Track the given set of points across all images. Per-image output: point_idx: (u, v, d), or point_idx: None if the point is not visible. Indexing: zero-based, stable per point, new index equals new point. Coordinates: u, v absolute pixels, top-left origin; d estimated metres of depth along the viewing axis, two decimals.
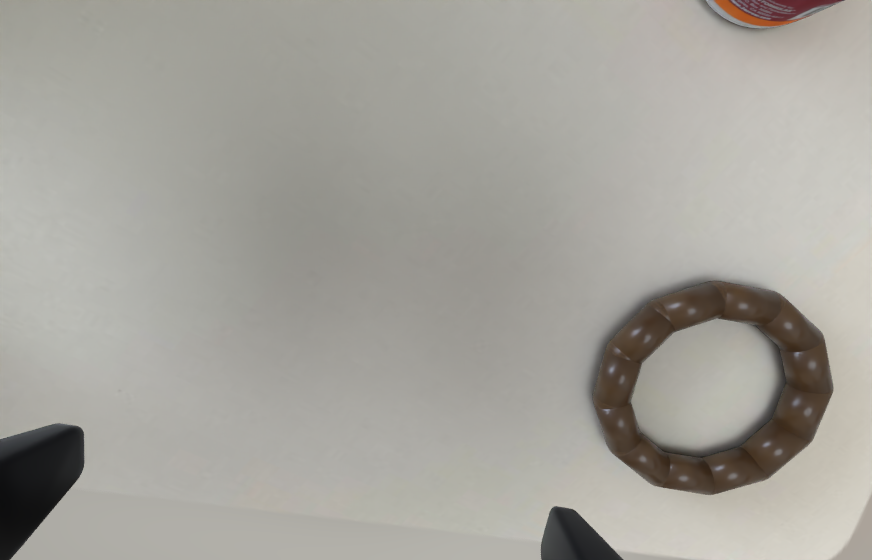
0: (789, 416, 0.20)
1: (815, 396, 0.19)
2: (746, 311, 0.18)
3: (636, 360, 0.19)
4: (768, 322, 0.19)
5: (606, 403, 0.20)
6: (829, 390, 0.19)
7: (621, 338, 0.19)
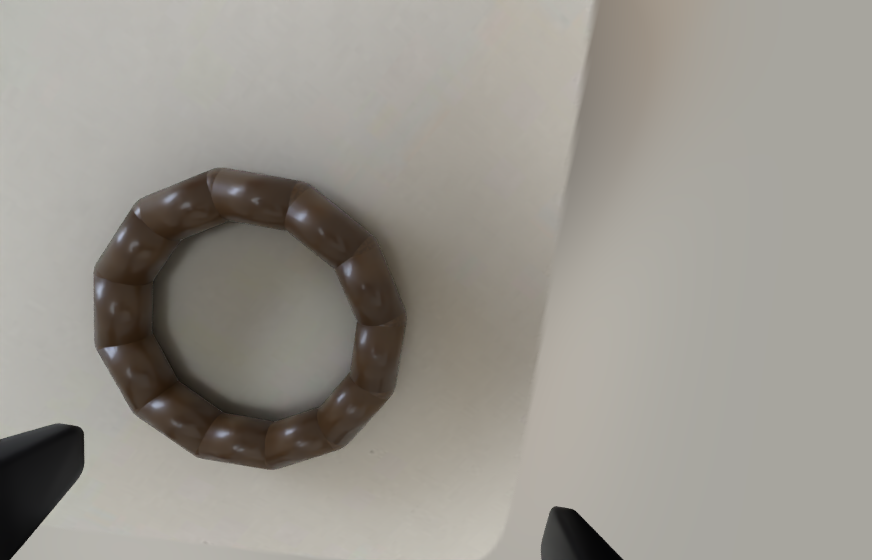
0: (353, 360, 0.14)
1: (369, 330, 0.14)
2: (244, 206, 0.13)
3: (114, 279, 0.14)
4: (283, 223, 0.13)
5: (96, 341, 0.14)
6: (385, 321, 0.14)
7: None
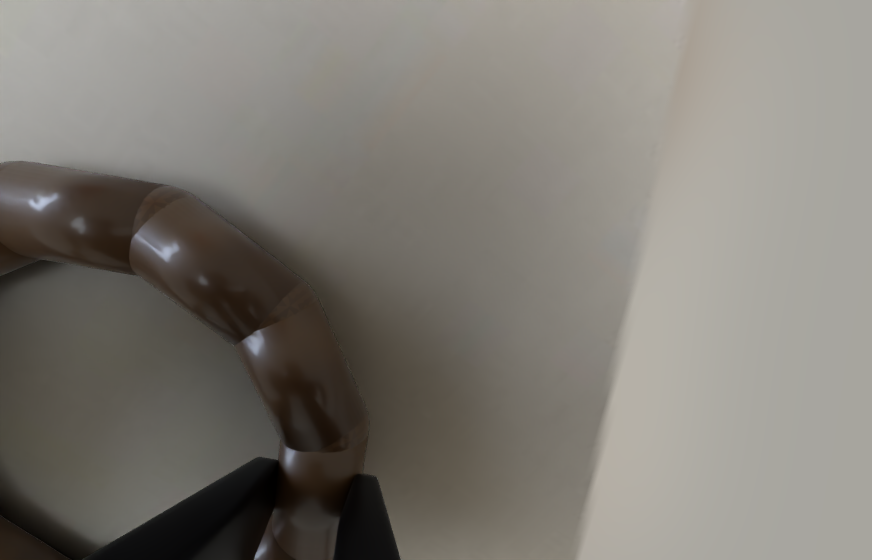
0: (275, 501, 0.08)
1: (298, 457, 0.08)
2: (49, 234, 0.07)
3: None
4: (128, 265, 0.07)
5: None
6: (326, 443, 0.07)
7: None
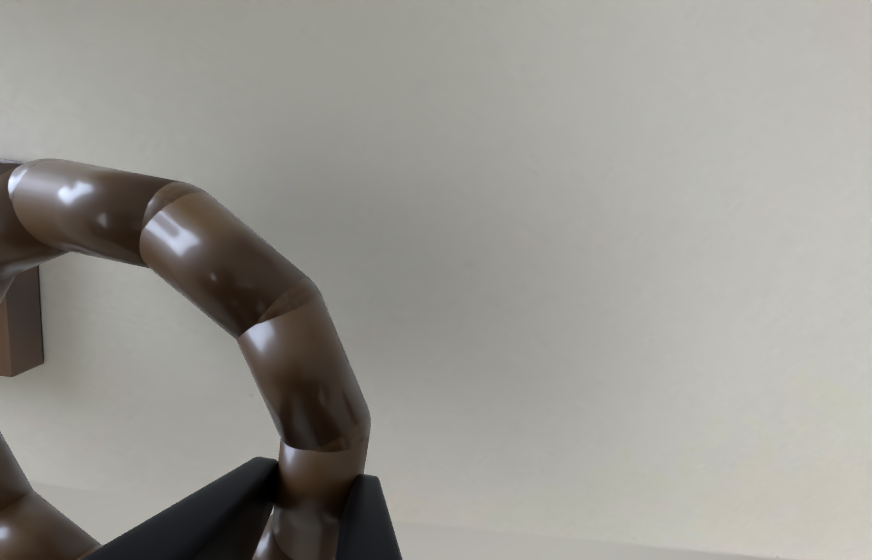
0: None
1: (294, 455, 0.07)
2: (70, 226, 0.07)
3: None
4: (139, 257, 0.07)
5: None
6: (321, 443, 0.07)
7: None
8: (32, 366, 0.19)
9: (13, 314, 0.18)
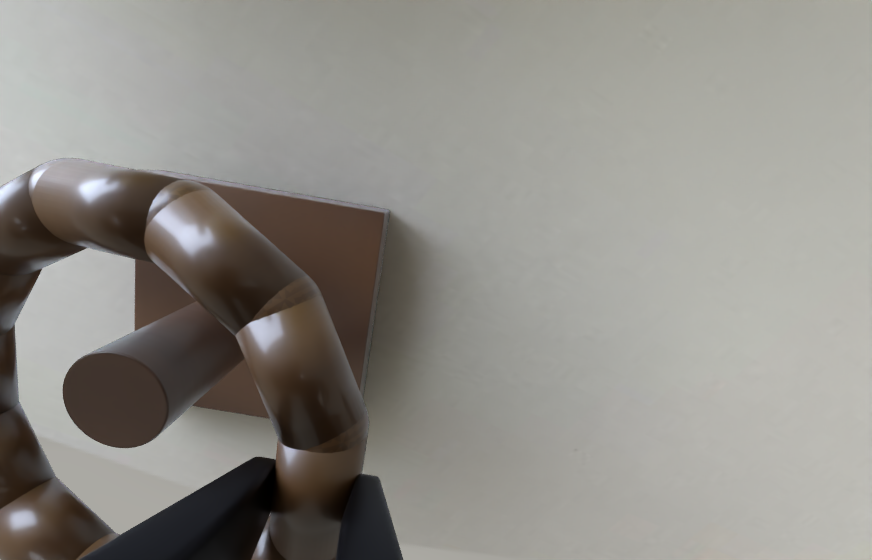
0: (272, 497, 0.08)
1: (289, 454, 0.07)
2: (82, 222, 0.07)
3: None
4: (145, 253, 0.07)
5: None
6: (315, 442, 0.07)
7: None
8: None
9: (363, 367, 0.17)
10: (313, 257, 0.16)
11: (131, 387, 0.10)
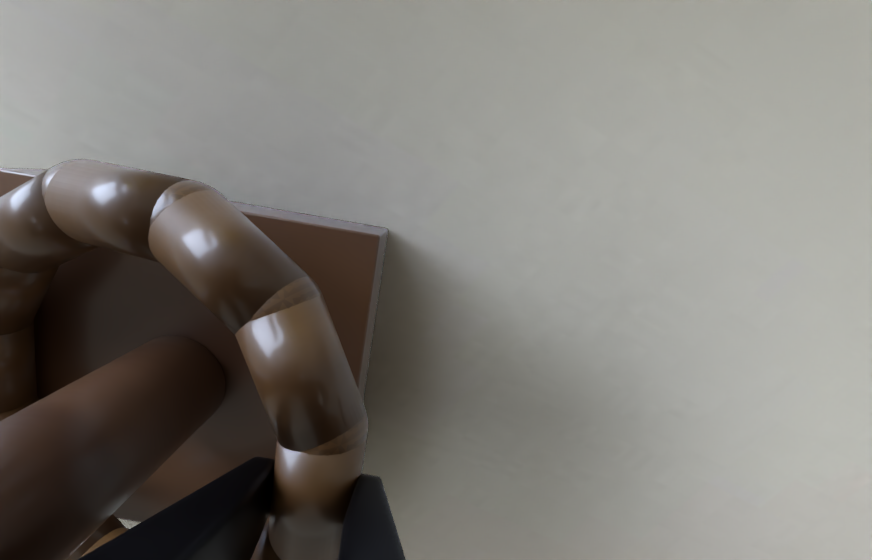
0: (271, 498, 0.08)
1: (286, 456, 0.07)
2: (91, 221, 0.08)
3: None
4: (149, 252, 0.07)
5: None
6: (312, 444, 0.07)
7: None
8: None
9: None
10: None
11: None
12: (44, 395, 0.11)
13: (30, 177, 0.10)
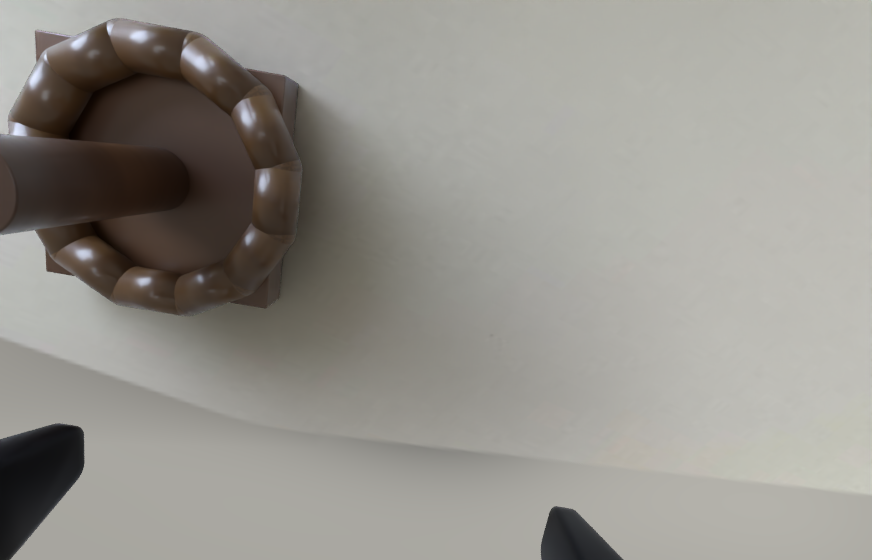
0: None
1: (263, 172, 0.15)
2: (142, 50, 0.14)
3: (25, 123, 0.15)
4: (179, 68, 0.14)
5: None
6: (277, 164, 0.15)
7: None
8: (275, 300, 0.19)
9: None
10: (216, 123, 0.16)
11: None
12: None
13: (60, 35, 0.15)
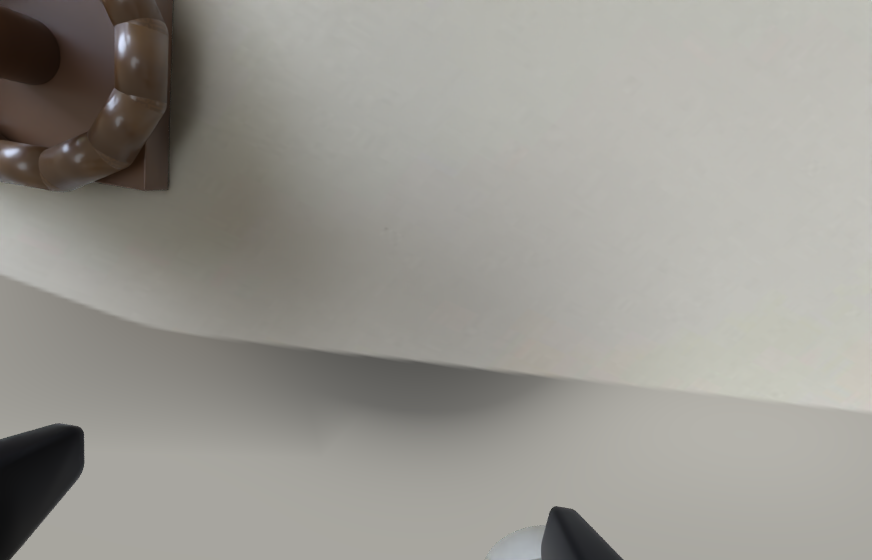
0: None
1: (119, 28, 0.15)
2: None
3: None
4: None
5: None
6: (132, 18, 0.15)
7: None
8: (160, 187, 0.18)
9: None
10: None
11: None
12: None
13: None
